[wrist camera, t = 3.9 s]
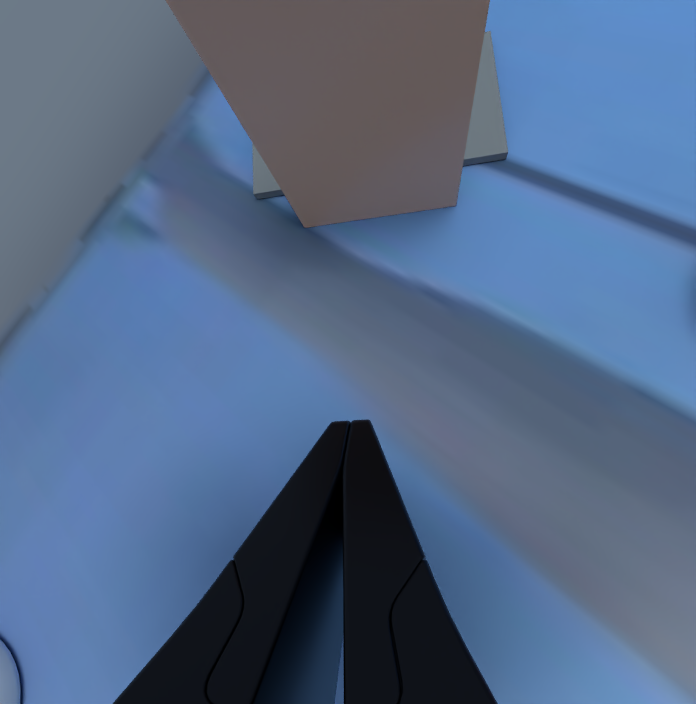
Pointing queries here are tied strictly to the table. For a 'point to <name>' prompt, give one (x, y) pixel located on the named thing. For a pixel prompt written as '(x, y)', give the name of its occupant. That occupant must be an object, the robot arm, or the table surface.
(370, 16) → the tile
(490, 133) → the mat
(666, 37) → the table surface
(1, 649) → the milk bottle
